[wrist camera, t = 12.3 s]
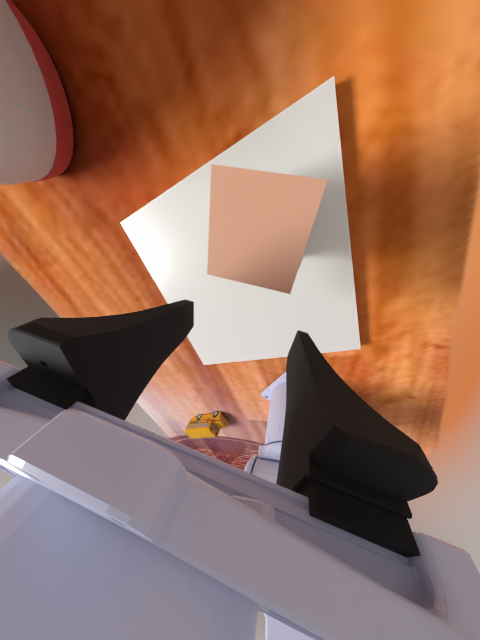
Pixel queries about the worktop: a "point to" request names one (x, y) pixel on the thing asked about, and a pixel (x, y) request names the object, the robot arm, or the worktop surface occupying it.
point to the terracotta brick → (260, 225)
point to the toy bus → (206, 425)
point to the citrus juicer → (30, 105)
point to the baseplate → (244, 299)
